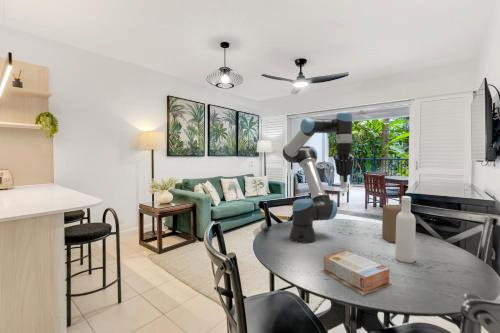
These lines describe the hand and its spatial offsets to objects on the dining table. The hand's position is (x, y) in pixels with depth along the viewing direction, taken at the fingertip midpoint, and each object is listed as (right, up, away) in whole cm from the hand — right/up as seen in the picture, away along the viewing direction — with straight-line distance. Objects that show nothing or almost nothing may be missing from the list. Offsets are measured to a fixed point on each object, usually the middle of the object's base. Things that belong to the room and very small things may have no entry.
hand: (343, 188), depth 127 cm
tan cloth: (-6, -34, -29) cm, 45 cm away
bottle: (+25, -33, -11) cm, 43 cm away
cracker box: (-11, -30, -18) cm, 37 cm away
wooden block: (+35, -32, +15) cm, 50 cm away
